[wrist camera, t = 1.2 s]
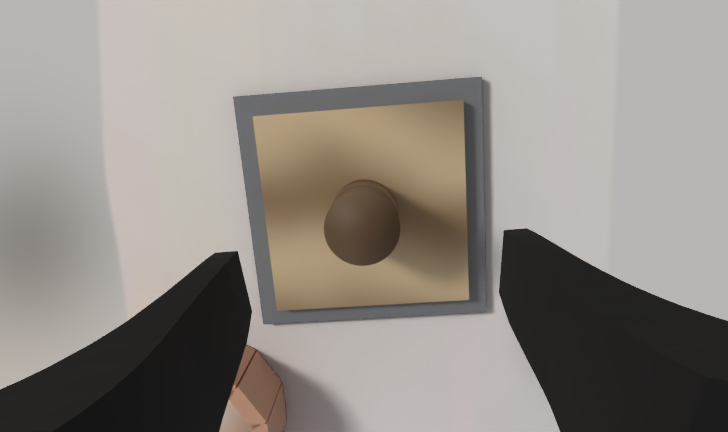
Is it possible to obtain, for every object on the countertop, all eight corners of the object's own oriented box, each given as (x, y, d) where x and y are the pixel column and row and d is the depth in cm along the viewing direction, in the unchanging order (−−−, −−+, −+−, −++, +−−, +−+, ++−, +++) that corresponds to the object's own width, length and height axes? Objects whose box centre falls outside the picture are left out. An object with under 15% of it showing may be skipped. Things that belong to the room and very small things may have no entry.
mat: (484, 308, 24) (486, 311, 24) (265, 320, 25) (263, 324, 24) (480, 77, 22) (481, 76, 21) (235, 97, 22) (233, 96, 22)
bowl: (292, 467, 27) (280, 518, 23) (146, 473, 27) (113, 524, 24) (275, 328, 25) (258, 362, 22) (118, 337, 25) (77, 371, 22)
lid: (466, 295, 24) (485, 332, 20) (279, 306, 24) (259, 344, 20) (461, 100, 22) (480, 96, 18) (255, 116, 22) (227, 116, 18)
